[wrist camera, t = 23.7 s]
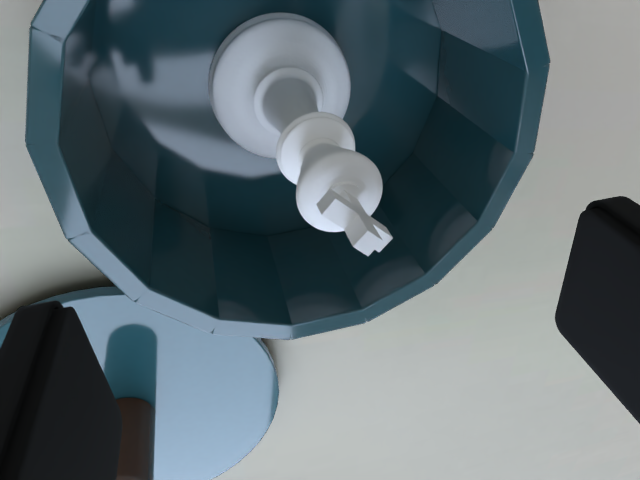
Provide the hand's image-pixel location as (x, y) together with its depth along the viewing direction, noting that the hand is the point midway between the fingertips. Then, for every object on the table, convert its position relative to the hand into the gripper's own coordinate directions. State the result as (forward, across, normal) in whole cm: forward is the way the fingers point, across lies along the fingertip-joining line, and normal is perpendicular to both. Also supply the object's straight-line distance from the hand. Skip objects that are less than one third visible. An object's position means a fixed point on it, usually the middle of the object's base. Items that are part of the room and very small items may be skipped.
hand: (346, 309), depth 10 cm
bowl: (+11, 0, -1) cm, 11 cm away
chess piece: (+11, 0, -1) cm, 11 cm away
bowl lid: (+11, +8, +13) cm, 19 cm away
